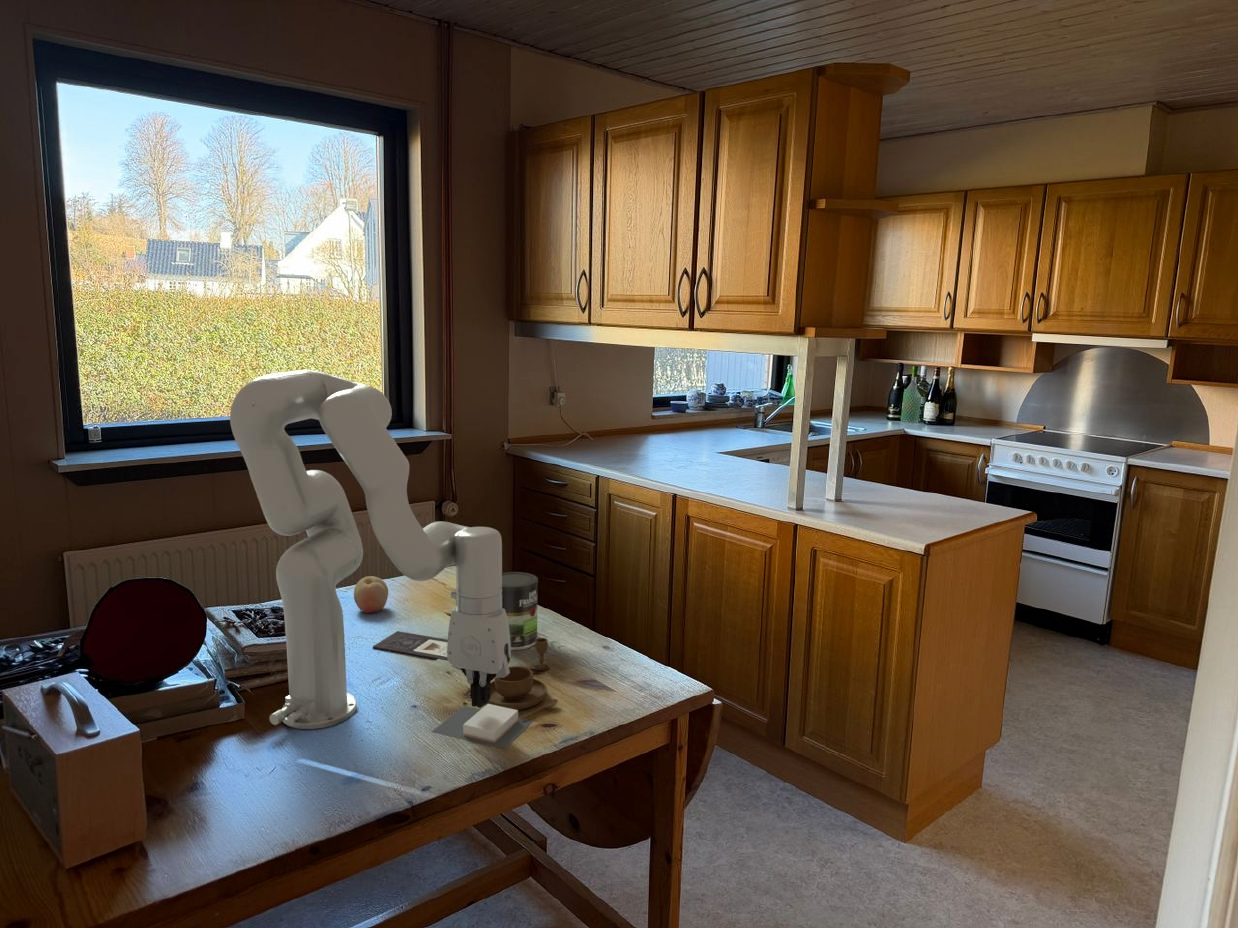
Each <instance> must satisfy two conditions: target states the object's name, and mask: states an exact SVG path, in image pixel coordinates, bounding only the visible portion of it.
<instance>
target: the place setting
mask: <svg viewBox="0 0 1238 928" xmlns="http://www.w3.org/2000/svg"><path fill="white" fill-rule="evenodd" d="M548 645H549V644H548V638H545V637H537V639H536V640H535V645H534V647H535V652H536V654H539V659H538V662H539V664H538V665H535V667H534V670H536V671H538V672H539V671H540V672H541V671H543V672H544V671H547V670H549V668H550V666H549V665H548V664H546V663H545V658H544V657H545V656H544V655H545V654H546V653H547V651H548ZM509 671H510V673H509V675H507V676H506V677H503V678H494V680H492V681H490V691H491V696H490V700H489V701H488V702H487V703H486V705H487V704H492V705H496V706H501V707H505V708H510V709H514V710H518V711H520V710H525V709H529V708H531V707H534V706H536V705H538V704H539V703H541V702H542V701H543V700H544V699H545V697H546V695H547V694H548V693H547V692H548V687H547V685H546V684H545V683H544V682H543V681H541V680H540V679H537V678H534V673H533V671H532V670H531V669H530V668H528V667H524V666H509ZM557 703H558V699H556V698H555V699H551V700H548V701H545V702H544V703H543V704H542V705H541V706H540V707H538V708H537V709H534V710H532V711H530V712H529V713H527V714H524V715H523V716H521V717H519V718H520V719H526V718H527V717H529V716H531V715H533V714H535V713H537V712H539V711H541V710H542V709H549V708H552V707H554V706H555V705H557Z"/></svg>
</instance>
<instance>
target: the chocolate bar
mask: <svg viewBox="0 0 1238 928" xmlns="http://www.w3.org/2000/svg"><path fill="white" fill-rule="evenodd" d="M447 642H448V638H447V639H446V638H441V637H440V638H439V637H434V636H429V635H422V634H416V633H412V632H411V633H410V632H406V631H405V632H404V631H399V630H397V631H396V632H394V633H392V634H391V635H389V636H387V637H386V638H384V639H383V640H381V641H379V642H377V643H376V644H374V645H373V646H372V650H378V651H382V652H388V653H392V654H393V653H394V654H400V655H403V656H411V657H416V658H421V659H427V660H432V661H437V660H441V661H445V662H446V661H447V662H448V659H447Z"/></svg>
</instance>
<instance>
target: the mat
mask: <svg viewBox="0 0 1238 928" xmlns="http://www.w3.org/2000/svg"><path fill="white" fill-rule="evenodd" d="M481 709H482V708H478V707H477V708H476V707H473V706H469V705H468V706H467V705H463V706H461V707H460V708H459V709H458V710H457V711H456V712H454V713H453V714H452V715H450V716H449V717H448V718H447V719H446V720H445V721H443V722H442V723H440V725H438V726H437V727H436V728H435V729H433V730H431V732H432V733H436V734H439V735H443V736H448V737H452V738H456V739H461V740H464V741H468V742H469V741H470V742H473V743H478V744H482V745H485V746H489V747H494V748H497V749H498V748H499V749H502V750H506V749H507V748H508V747H509V746H510V745H511V744H512V743H513V742H514V741H516V740H517V738H518V737H520V736H521V734H522V733H523V732H524V731H525V730H527V728H528V727H529V726H530V725H532V723H534V720H529V719H526V718H524V719H520V718H521V717H518V721H517V722H516V723H515V724H514V725H513V726H512V727H511V728H510V729H509V730H508V731H507V732H506V733H505V734H504V735H503V736H502V737H501V738H500V739H498V740H497V741H496V742H495V743H493V742H489V741H484V740H480V739H476V738H472V737H468V736H464V735H463V724H464V723H466V722H467V721H468V720H469V719H470V718H471V717H473V716H474V715H475V714H476V713H477V712H479V711H480V710H481Z"/></svg>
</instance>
